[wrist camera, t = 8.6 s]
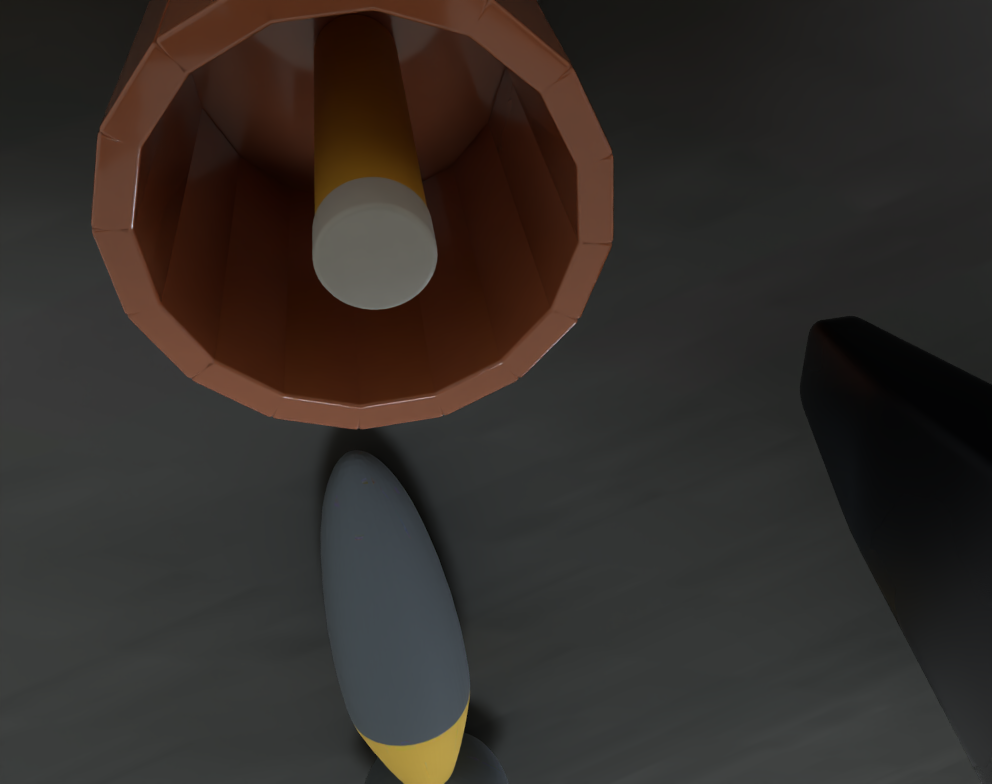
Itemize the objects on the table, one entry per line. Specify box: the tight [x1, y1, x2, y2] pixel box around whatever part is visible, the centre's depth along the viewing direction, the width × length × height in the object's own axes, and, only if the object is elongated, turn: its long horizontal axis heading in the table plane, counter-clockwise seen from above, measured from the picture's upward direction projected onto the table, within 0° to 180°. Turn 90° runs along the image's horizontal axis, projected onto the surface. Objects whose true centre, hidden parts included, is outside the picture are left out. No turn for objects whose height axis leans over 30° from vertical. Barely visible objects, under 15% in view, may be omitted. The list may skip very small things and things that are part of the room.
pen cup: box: [91, 0, 614, 429], centre depth 15 cm, size 7×7×7 cm
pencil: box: [312, 15, 438, 310], centre depth 15 cm, size 2×2×7 cm
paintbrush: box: [321, 450, 509, 784], centre depth 28 cm, size 20×5×5 cm, turn 9°
